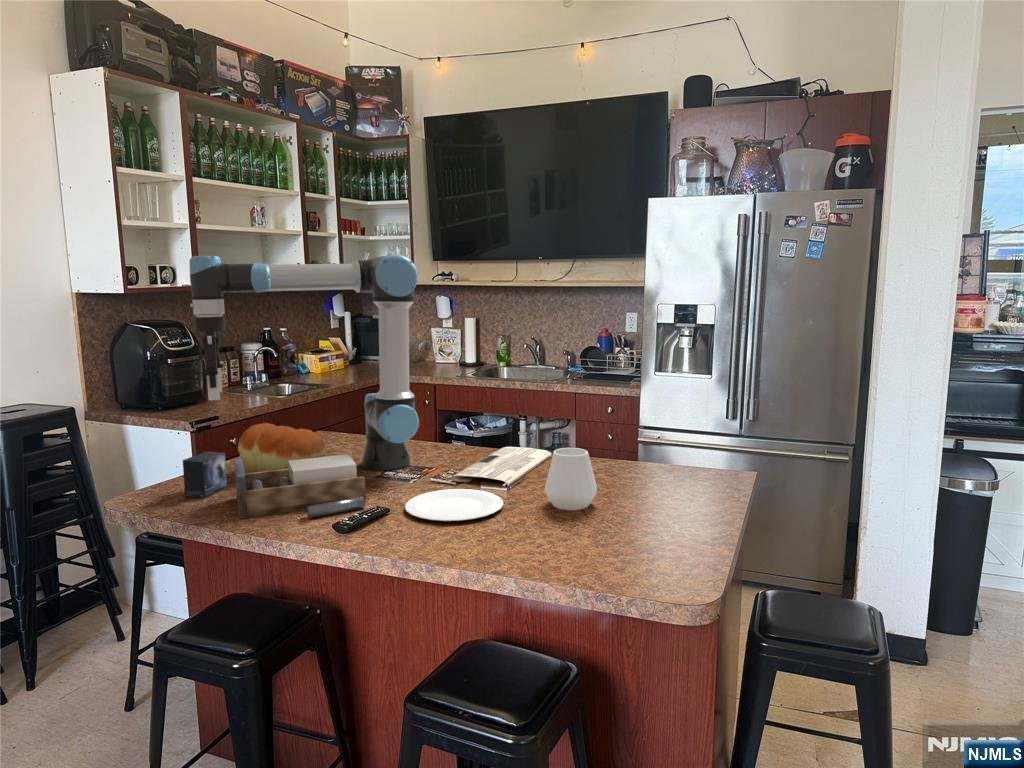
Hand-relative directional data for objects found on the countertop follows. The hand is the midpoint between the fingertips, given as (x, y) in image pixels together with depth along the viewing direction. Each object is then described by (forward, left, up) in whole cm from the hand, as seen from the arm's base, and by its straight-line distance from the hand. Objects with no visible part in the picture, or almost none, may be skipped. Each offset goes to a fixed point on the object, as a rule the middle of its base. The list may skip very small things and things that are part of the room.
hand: (215, 396), depth 183 cm
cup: (-82, +46, -28) cm, 98 cm away
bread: (-17, -15, -28) cm, 36 cm away
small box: (+4, -6, -28) cm, 29 cm away
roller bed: (-19, +12, -28) cm, 36 cm away
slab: (-25, +12, -23) cm, 36 cm away
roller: (-26, +27, -28) cm, 47 cm away
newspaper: (-81, +7, -28) cm, 86 cm away
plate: (-54, +36, -28) cm, 71 cm away
